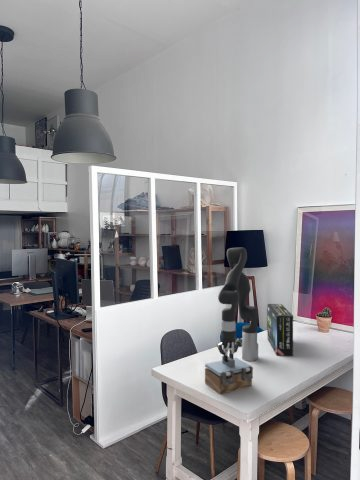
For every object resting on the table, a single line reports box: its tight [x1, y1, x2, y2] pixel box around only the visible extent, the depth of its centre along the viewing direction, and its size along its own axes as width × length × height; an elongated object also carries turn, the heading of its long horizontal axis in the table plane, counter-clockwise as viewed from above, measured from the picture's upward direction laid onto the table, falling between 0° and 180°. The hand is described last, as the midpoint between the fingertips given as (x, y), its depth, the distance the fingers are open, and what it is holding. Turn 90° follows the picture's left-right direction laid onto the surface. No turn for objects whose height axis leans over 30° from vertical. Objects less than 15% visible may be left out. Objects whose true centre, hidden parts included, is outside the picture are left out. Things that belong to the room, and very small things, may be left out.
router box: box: [266, 303, 294, 357], centre depth 249 cm, size 36×11×27 cm, turn 177°
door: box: [204, 355, 252, 376], centre depth 189 cm, size 20×16×5 cm
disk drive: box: [235, 337, 242, 348], centre depth 259 cm, size 10×3×15 cm
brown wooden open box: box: [204, 365, 254, 395], centre depth 189 cm, size 20×16×11 cm
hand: (228, 361), depth 189 cm, fingers open, 2 cm apart
